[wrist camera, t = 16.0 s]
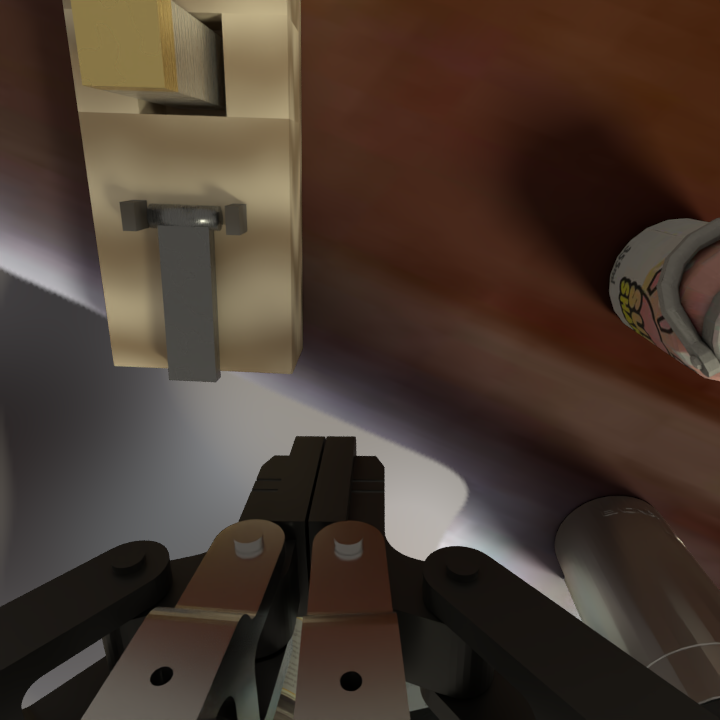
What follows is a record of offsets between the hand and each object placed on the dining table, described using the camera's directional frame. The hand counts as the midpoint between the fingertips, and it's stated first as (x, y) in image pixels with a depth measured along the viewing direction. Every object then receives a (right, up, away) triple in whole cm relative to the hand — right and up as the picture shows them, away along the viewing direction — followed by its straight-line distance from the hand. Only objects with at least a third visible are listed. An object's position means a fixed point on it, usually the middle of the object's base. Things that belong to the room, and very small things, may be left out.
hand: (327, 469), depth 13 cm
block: (-9, +15, +22) cm, 29 cm away
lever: (-10, +7, +20) cm, 23 cm away
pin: (-9, +20, +20) cm, 30 cm away
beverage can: (+22, +9, +24) cm, 33 cm away
